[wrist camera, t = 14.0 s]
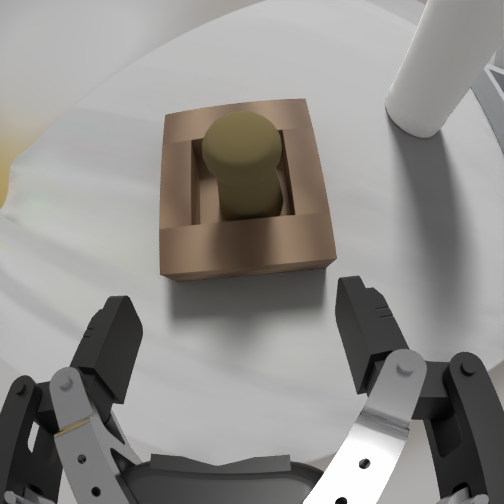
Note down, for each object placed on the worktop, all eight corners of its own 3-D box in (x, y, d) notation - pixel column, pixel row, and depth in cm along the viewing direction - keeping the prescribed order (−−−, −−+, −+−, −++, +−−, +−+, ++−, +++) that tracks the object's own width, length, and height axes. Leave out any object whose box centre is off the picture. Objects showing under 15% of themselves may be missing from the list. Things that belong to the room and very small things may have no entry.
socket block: (176, 281, 27) (160, 274, 23) (177, 138, 31) (165, 114, 26) (326, 267, 27) (336, 258, 22) (301, 124, 30) (305, 98, 26)
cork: (296, 208, 27) (310, 143, 16) (241, 243, 27) (221, 196, 16) (260, 161, 28) (253, 84, 18) (207, 193, 28) (174, 127, 17)
